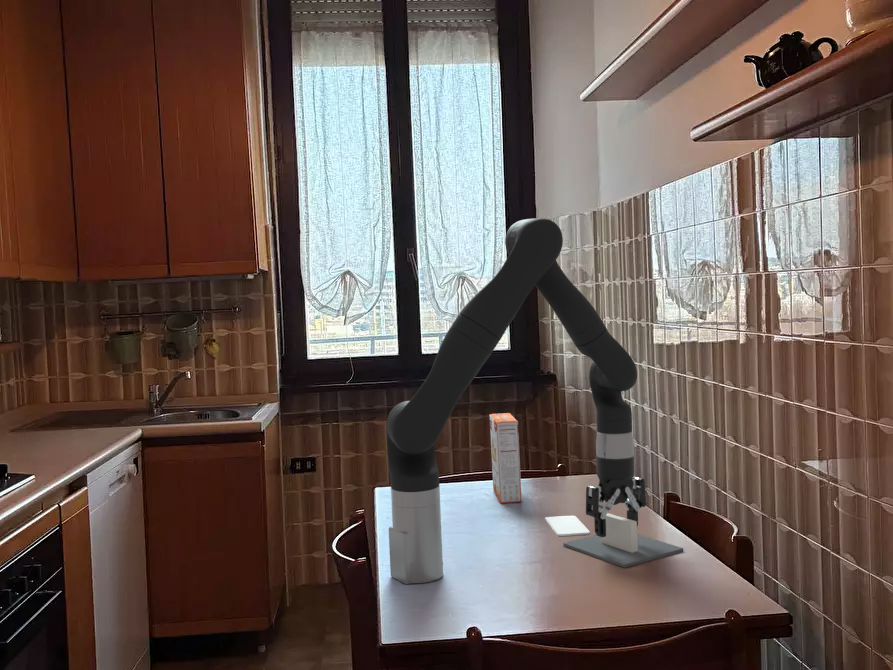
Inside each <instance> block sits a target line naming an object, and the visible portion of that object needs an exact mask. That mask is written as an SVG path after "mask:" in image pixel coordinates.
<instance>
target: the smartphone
mask: <svg viewBox="0 0 893 670" xmlns="http://www.w3.org/2000/svg"><path fill="white" fill-rule="evenodd" d="M544 520H545V521H546V523H547V524H548V525H549V527H550V528H551V529H552V531H553V532H554V534H556V536H557V537H569V536H570V537H571V536H585V535H586V536H587V535H590V533H591V532H590V530H589V529H588V528H587V526H585V525H584V523H583V522H582V521H580V519H579V518H578V517H577V516H576V515H559V516H547V517H546V516H545V517H544Z"/></svg>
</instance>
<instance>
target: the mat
mask: <svg viewBox="0 0 893 670" xmlns="http://www.w3.org/2000/svg"><path fill="white" fill-rule="evenodd" d="M562 545H563V547H565V548H568V549H570V550H574V551H577V552H580V553H582V554H585V555H588V556H590V557H594V558H597V559H599V560H602V561H604V562H608V563H610V564H613V565H616V566H619V567H622V568H624V569H625V568H628V567H631V566H635V565H639V564H642V563H646V562H651V561H653V560H658V559H661V558H664V557H668V556H670V555H675V554H678V553H682V552H684V547H681V546H677V545H674V544H671V543H667V542H665V541H662V540H658V539H655V538H651V537H648V536H644V535H641V534H638V533H637V547H638V551H636V552H633V553H631V552H628V551H625V550H622V549H619V548H616V547H613V546H610V545H607V544H604V543H601V537H599V536H597V535H596V534H594V535H590V536H587V537H581V538H579V539H574V540H570V541H566V542H563V544H562Z"/></svg>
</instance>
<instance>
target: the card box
mask: <svg viewBox="0 0 893 670" xmlns="http://www.w3.org/2000/svg"><path fill="white" fill-rule="evenodd" d="M604 519H606V536H605V537H601V543H604V544H607V545H610V546H613V547H616V548H619V549H622V550H625V551H628V552H631V553H633V552H636V551H638V547H637V534H638V526H637V521H633V520H630V519H627V517H626V518H625V517H623V516H618V515H616V514H612V513H608V512H607V514H606V516H605V518H604Z"/></svg>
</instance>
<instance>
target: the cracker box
mask: <svg viewBox="0 0 893 670" xmlns="http://www.w3.org/2000/svg"><path fill="white" fill-rule="evenodd" d="M489 428H490V432H489V433H490V447H491V448H490V451H491V452H490V453H491V465H492V467H491V469H492V487H493V488H492V489H493V492H494V494H495V496H496V497H497V499H498V502H499V503H500V504H511V503H521V502H522V500H523V498H522V485H521V484H522V480H521V459H520V442H519V441H520V436H519V421H518V420H517V419H516V418H515V417H514V416H513V415H512V414H511V413H510V412H506V413H505V412H504V413H490V414H489Z"/></svg>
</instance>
